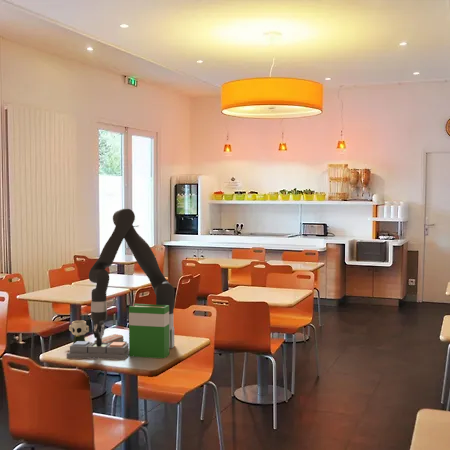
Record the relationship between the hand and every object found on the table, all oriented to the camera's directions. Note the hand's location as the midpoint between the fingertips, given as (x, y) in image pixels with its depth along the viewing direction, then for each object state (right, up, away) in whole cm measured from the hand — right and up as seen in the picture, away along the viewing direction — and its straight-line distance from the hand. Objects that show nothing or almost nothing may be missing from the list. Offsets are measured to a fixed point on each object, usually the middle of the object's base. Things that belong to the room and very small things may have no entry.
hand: (99, 345), depth 283 cm
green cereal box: (+24, -5, 0) cm, 25 cm away
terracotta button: (+9, -1, -1) cm, 9 cm away
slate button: (-9, -1, +1) cm, 9 cm away
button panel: (0, -5, 0) cm, 5 cm away
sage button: (0, -2, 0) cm, 2 cm away
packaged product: (+1, -5, +19) cm, 19 cm away
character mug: (-13, -4, +15) cm, 21 cm away
